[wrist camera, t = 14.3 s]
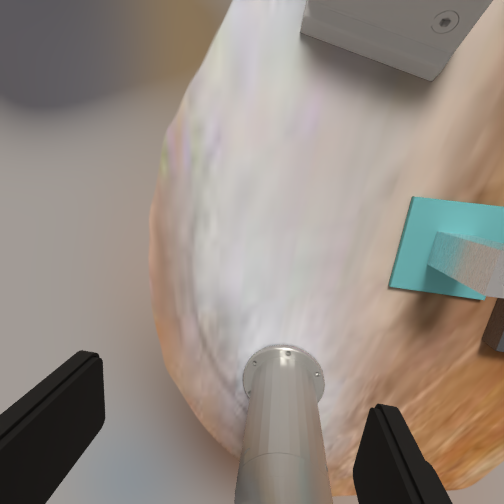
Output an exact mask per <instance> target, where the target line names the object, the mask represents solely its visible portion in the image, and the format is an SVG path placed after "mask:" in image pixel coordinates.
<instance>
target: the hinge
mask: <svg viewBox="0 0 504 504" xmlns="http://www.w3.org/2000/svg"><path fill="white" fill-rule="evenodd" d="M492 1H493V0H307V1H306V6H305V11H304V16H303V21H302V25H301V30H300V33H303V34H305V35H308V36H311V37H314V38H316V39H319V40H322V41H324V42H327V43H330V44H332V45H335V46H338V47H340V48H343V49H346V50H348V51H351V52H354V53H356V54H359V55H362V56H364V57H367V58H370V59H372V60H375V61H378V62H380V63H383V64H386V65H388V66H391V67H394V68H396V69H399V70H402V71H404V72H407V73H410V74H412V75H415V76H418V77H420V78H423V79H426V80H428V81H432V80H433V79H434V78H435V77H436V76H437V75H438V74H439V73H440V72H441V71H442V70H443V68H444V67H445V65H446V64H447V62H448V61H449V59H450V58H451V56H452V55H453V53H454V52H455V51H456V49H457V48H458V47H459V45H460V44H461V43H462V41H463V40H464V39H465V37H466V36H467V35H468V33H469V32H470V30H471V29H472V28H473V26H474V25H475V24H476V22H477V21H478V20H479V18H480V17H481V16H482V14H483V13H484V12H485V10H486V9H487V8H488V6H489V5H490V4H491V2H492Z"/></svg>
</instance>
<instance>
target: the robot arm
mask: <svg viewBox="0 0 504 504" xmlns="http://www.w3.org/2000/svg"><path fill="white" fill-rule="evenodd" d="M103 382H104V381H103V362H102V359H101V358H99V355H98V354H97V353H94V352H88V351H83V350H82V351H79V352H77V353H76V354H74V355H73V356H72V357H71V358H70V359H68V360H67V361H66V362H65V363H63V364H62V365H61V366H60V367H58V368H57V369H56V370H55V371H54V372H52V373H51V374H50V375H49V376H47V377H46V378H45V379H44V380H42V381H41V382H40V383H39V384H38V385H36V386H35V387H34V388H33V389H31V390H30V391H29V392H28V393H27V394H25V395H24V396H23V397H22V398H20V399H19V400H18V401H17V402H15V403H14V404H13V405H12V406H10V407H9V408H8V409H7V410H6V411H4V412H3V413H2V414H1V415H0V504H45V503H46V502H47V501H48V499H49V498H50V497H51V495H52V494H53V493H54V491H55V490H56V488H57V487H58V486H59V484H60V483H61V482H62V481H63V479H64V478H65V477H66V475H67V474H68V472H69V471H70V470H71V468H72V467H73V466H74V464H75V463H76V462H77V460H78V459H79V458H80V456H81V455H82V454H83V452H84V451H85V450H86V448H87V447H88V446H89V444H90V443H91V442H92V440H93V439H94V437H95V436H96V435H97V434H98V432H99V431H100V430H101V428H102V426H103V424H104V421H105V402H104V383H103ZM243 385H244V389H245V392H246V394H247V395H248V397H249V399H250V400H249V406H248V412H247V419H246V425H245V432H244V438H243V444H242V451H241V457H240V464H239V470H238V476H237V483H236V490H235V504H333V500H332V493H331V488H330V481H329V475H328V468H327V462H326V455H325V449H324V443H323V436H322V430H321V423H320V417H319V411H318V404H317V403H318V402H319V401H320V399H321V398H322V395H323V392H324V386H325V383H324V376H323V372H322V370H321V368H320V365H319V364H318V363H317V361H316V360H315V359H314V358H313V357H312V356H311V355H310V354H309V353H307V352H305V351H304V350H302V349H299V348H297V347H294V346H289V345H274V346H269V347H266V348H263V349H261V350H259V351H258V352H256V353H255V354H254V355H253V356H252V357H251V358H250V359H249V361H248V362H247V364H246V366H245V370H244V375H243ZM353 480H354V485H355V489H356V493H357V497H358V502H359V504H452V502H451V500H450V498H449V496H448V494H447V492H446V490H445V489H444V487H443V485H442V483H441V481H440V479H439V477H438V475H437V473H436V472H435V470H434V469H433V467H432V465H430V464H429V463H428V462H427V461H425V459H424V457H423V455H422V453H421V451H420V449H419V447H418V445H417V443H416V442H415V440H414V438H413V436H412V434H411V432H410V430H409V428H408V426H407V424H406V422H405V420H404V418H403V416H402V414H401V412H400V411H399V409H398V408H397V407H394V406H388V405H383V404H377V405H376V406H375V408H370V411H369V414H368V418H367V421H366V425H365V428H364V432H363V435H362V439H361V442H360V446H359V449H358V453H357V456H356V460H355V463H354V467H353Z"/></svg>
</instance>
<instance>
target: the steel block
mask: <svg viewBox="0 0 504 504" xmlns="http://www.w3.org/2000/svg"><path fill="white" fill-rule="evenodd" d="M427 264H428V265H430V266H431V267H433V268H435V269H437V270H439V271H440V272H442V273H444V274H446V275H448V276H449V277H451V278H453V279H455V280H457V281H459V282H460V283H462V284H464V285H466V286H468V287H469V288H471V289H473V290H475V291H477V292H478V293H480V294H482V295H484V296H490V297H497V298H504V244H503V243H500V242H496V241H492V240H488V239H485V238H481V237H477V236H473V235H465V234H457V233H449V232H441V231H437V233H436V237H435V240H434V243H433V247H432V250H431V253H430V256H429V260H428V263H427Z"/></svg>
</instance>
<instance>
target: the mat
mask: <svg viewBox="0 0 504 504" xmlns="http://www.w3.org/2000/svg"><path fill="white" fill-rule="evenodd" d="M437 231H441V232H449V233H457V234H465V235H473V236H477V237H481V238H485V239H488V240H492V241H496V242H500V243H503V244H504V207H500V206H491V205H483V204H474V203H465V202H456V201H448V200H439V199H430V198H421V197H412V199H411V203H410V207H409V211H408V214H407V218H406V222H405V226H404V229H403V233H402V237H401V241H400V244H399V248H398V252H397V255H396V259H395V263H394V267H393V270H392V274H391V278H390V282H389V286H390V287H396V288H403V289H410V290H417V291H424V292H431V293H438V294H445V295H452V296H459V297H466V298H473V299H480V300H485V297H486V296H484V295H482V294H480V293H478V292H477V291H475V290H473V289H471V288H469V287H468V286H466V285H464V284H462V283H460V282H459V281H457V280H455V279H453V278H451V277H449V276H448V275H446V274H444V273H442V272H440V271H439V270H437V269H435V268H433V267H431V266H430V265H428V264H427V263H428V260H429V256H430V253H431V250H432V247H433V243H434V240H435V237H436V233H437Z"/></svg>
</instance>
